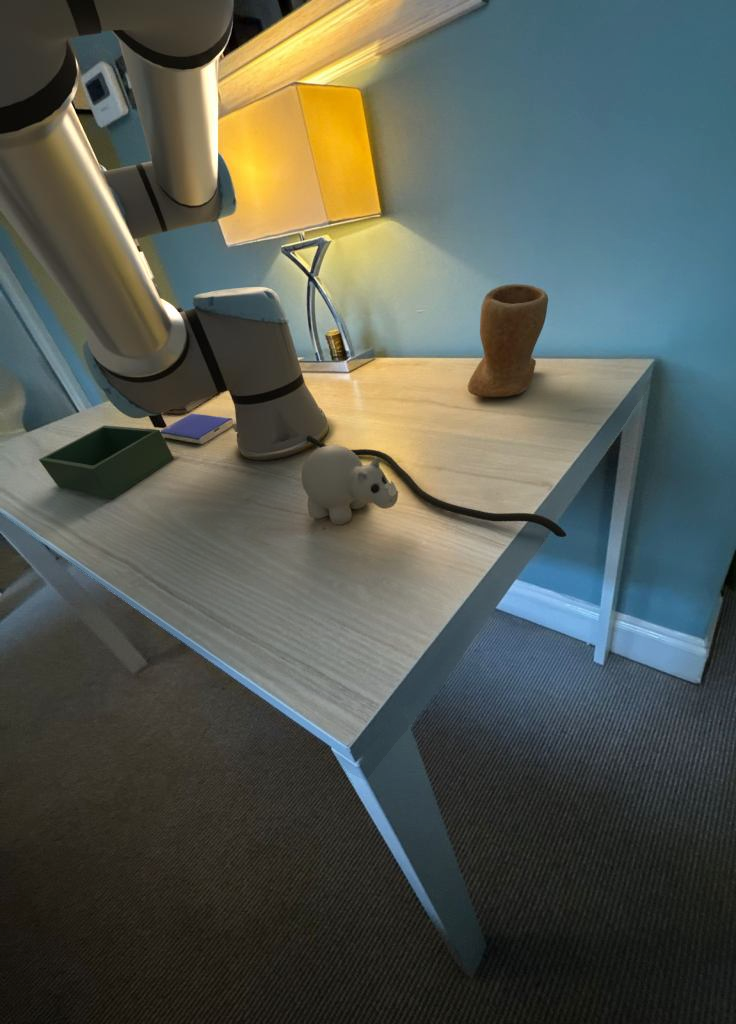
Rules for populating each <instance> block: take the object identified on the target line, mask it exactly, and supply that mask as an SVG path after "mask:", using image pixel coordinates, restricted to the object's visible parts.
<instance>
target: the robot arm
mask: <svg viewBox="0 0 736 1024" xmlns="http://www.w3.org/2000/svg"><path fill="white" fill-rule="evenodd" d="M234 6H235V0H0V212H1V213H2V215H3V216H4V217H5V218H6V220H7V221H8V223H9V224H10V225H11V226H12V228H13V229H14V230H15V232H16V233H17V235H18V236H19V237H20V239H21V240H22V241H23V243H24V244H25V245H26V246H27V248H28V249H29V251H30V252H31V253H32V255H33V256H34V257H35V259H37V261H38V262H39V264H40V265H41V266H42V268H43V269H44V271H45V272H46V273H47V274H48V276H49V277H50V279H51V280H52V281H53V282H54V284H55V285H56V286H57V288H58V289H59V290H60V292H61V293H62V294H63V296H64V297H65V298H66V300H67V301H68V302H69V304H70V305H71V306H72V308H73V309H74V311H75V312H76V313H77V314H78V316H79V317H80V318H81V320H82V321H83V323H84V324H85V325H86V326H87V329H86V340H85V341H84V342H83V344H82V353H83V357H84V361H85V363H86V365H87V368H88V370H89V372H90V374H91V376H92V378H93V379H94V381H95V383H96V384H97V386H98V387H99V389H100V390H102V391H103V392H104V394H105V397H106V398H107V399H108V401H109V402H110V403H111V404H112V405H113V407H115V408H116V409H117V410H118V411H119V412H120V413H121V414H124V415H125V416H127V417H128V418H132V419H143V418H149V421H150V422H151V424H152V426H153V428H155V429H156V428H157V429H164V428H166V427H168V425H167V423H166V421H165V419H164V417H163V415H162V414H165V413H164V412H166V411H169V410H172V409H175V408H178V407H181V406H183V405H186V404H189V403H192V402H195V401H198V400H201V399H204V398H207V397H210V396H213V397H218V396H220V395H221V394H222V393H225V392H228V393H229V396H230V398H231V400H232V403H233V406H234V413H235V423H234V424H232V425H233V426H232V428H233V430H234V432H235V433H236V443H237V445H238V446H237V447H238V448H239V452H240V453H241V455H242V456H243V457H245V458H246V459H249V460H254V461H272V460H273V461H274V460H278V459H283V458H287V457H291V456H294V455H296V454H297V455H298V454H299V453H302V452H304V451H306V450H308V449H310V448H312V447H314V446H315V447H318V448H321V447H324V446H327V445H326V443H324V442H322V441H321V440H323V439H324V438H325V437H326V435H327V434H328V432H329V429H330V427H329V422H328V419H327V418H328V417H327V416H326V414H325V412H324V411H323V409H322V408H321V407H319V405H318V403H317V401H316V400H315V397H313V394H312V393H311V391H310V390H309V388H308V386H307V384H306V382H305V379H304V375H303V372H302V367H301V364H300V360H299V358H298V353H297V351H296V347H295V344H294V339H293V337H292V334H291V330H290V326H289V318H288V317H287V315H286V312H285V309H284V307H283V304H282V301H281V298H280V296H279V295H278V293H277V292H276V291H274V290H273V289H272V288H269V287H266V286H265V287H264V286H251V287H250V286H249V287H236V288H235V287H234V288H227V289H220V290H213V291H208V292H202V293H198V294H196V295H193V297H192V305H193V307H194V308H191V309H187V310H184V308H182V307H175V306H174V305H172V304H171V303H170V302H168V301H166V300H165V299H164V298H163V294H162V293H161V291H160V288H159V286H158V285H157V284H156V283H154V282H153V281H154V279H155V276H154V274H153V273H154V272H152V269H151V267H150V265H149V261H148V260H147V258H146V255H145V253H144V252H143V249H142V247H141V245H140V243H139V241H138V239H142V238H146V237H150V236H154V235H157V234H161V233H165V232H170V231H174V230H180V229H183V228H184V229H185V228H188V227H192V226H197V225H201V224H206V223H214V222H217V221H219V220H221V219H223V218H226V217H229V216H232V215H234V214H235V213H236V212H237V208H238V207H237V206H238V201H237V199H236V189H235V186H234V182H233V179H232V176H231V172H230V170H229V167H228V165H227V162H226V159H225V158H224V156H223V155H222V154H221V152H220V151H219V149H218V148H219V146H218V145H219V57H221V55H222V54H223V53H224V51H225V49H226V48H227V45H228V43H229V40H230V37H231V35H232V29H233V23H234ZM110 31H111V33H112V34H113V35H114V36H115V37H116V39H117V40H118V42H119V46H120V51H121V54H122V57H123V60H124V66H125V69H126V72H127V76H128V80H129V83H130V87H131V91H132V95H133V98H134V101H135V106H136V109H137V113H138V117H139V120H140V124H141V128H142V131H143V135H144V139H145V143H146V146H147V150H148V153H149V157H150V161H147V162H142V163H138V164H134V165H127V166H124V167H123V166H122V167H119V168H118V167H117V168H112V169H109V170H107V169H106V167H104V165H101V164H100V162H98V161H99V160H98V159H97V156H96V154H95V152H94V150H93V148H92V145H91V143H90V141H89V139H88V137H87V133H86V132H85V130H84V128H83V126H82V124H81V122H80V119H79V117H78V115H77V113H76V110H75V108H74V106H73V103H72V102H73V100H74V98H75V96H76V93H77V91H78V87H79V82H80V69H79V64H78V60H77V58H76V55H75V52H74V49H73V48H72V45H71V43H70V40H69V39H74V38H79V37H85V36H91V35H101V34H102V32H110ZM350 450H351V451H352V452H353V453H355V454H356V455H357V456H372V457H375V458H376V457H378V458H379V459H381V460H383V461H385V463H387V464H388V465H389V466H390V468H392V470H394V472H395V473H396V474H397V475H398V476H399V477H400V478H402V480H403V481H404V482H405V483H406V484H407V486H408V487H409V488H410V489H411V490H412V491H413V493H414V494H415V495H417V496H418V498H420V499H422V500H423V501H425V502H426V503H428V504H430V505H431V506H434V507H436V508H438V509H441V510H443V511H447V512H450V513H453V514H457V515H461V516H465V517H469V518H474V519H478V520H483V521H488V522H527V523H533V524H536V525H540V526H542V527H544V528H546V529H548V530H549V531H550V532H552V533H553V534H554V535H555V536H556V537H558V538H564V537H566V536H567V533H566V531H565V530H564V529H562V528H561V526H560V525H558V524H557V523H556V522H554V521H553V520H551V519H550V518H547V517H545V516H543V515H539V514H536V513H529V512H509V513H507V512H506V513H498V512H497V513H496V512H487V511H482V510H477V509H473V508H468V507H464V506H460V505H456V504H452V503H449V502H446V501H444V500H442V499H439V498H436V497H434V496H432V495H431V494H429V493H427V492H426V491H424V490H423V489H422V488H421V487H420V486H419V485H418V483H416V482H415V481H414V480H413V478H412V477H411V475H409V473H407V472H406V471H405V470H404V469H403V468H402V467H401V466H400V465H399V464H398V463H397V462H396V461H395V460H394V459H393V458H392V457H391V456H389V454H387V453H384V452H382V451H379V450H376V449H369V448H368V449H367V448H362V449H361V448H359V449H350Z"/></svg>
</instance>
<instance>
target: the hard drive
mask: <svg viewBox="0 0 736 1024" xmlns="http://www.w3.org/2000/svg"><path fill="white" fill-rule="evenodd" d="M232 424H235V422H234V419H233V418H232V417H222V416H216V415H208V414H200V413H190V414H188V415H186V416H185V417H183V418H181V419H179V420H177V421H175V422H174V423H172V424H170V425H167V427H165V428H162V429H161V430H160V432H161V434H162V436H163V438H164V439H165V438H166V439H170V440H171V439H172V440H177V441H183V442H189V443H192V444H193V443H194V444H199V445H203V444H205V443H208V442H209V441H211V440H212V439H214V438H215V437H217V436H219V435H220V434H221V433H224V432H225V431H227V430H228V429H230V428H231V427H233V425H232Z"/></svg>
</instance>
